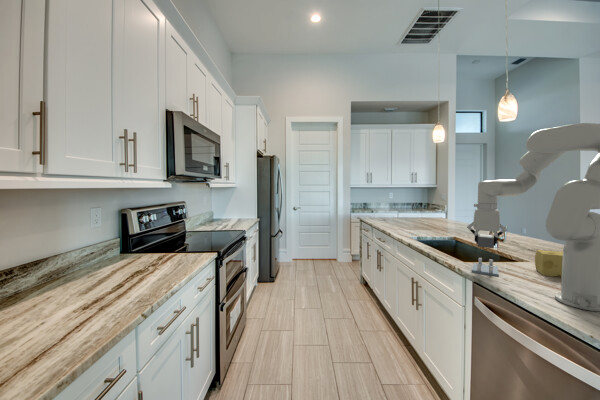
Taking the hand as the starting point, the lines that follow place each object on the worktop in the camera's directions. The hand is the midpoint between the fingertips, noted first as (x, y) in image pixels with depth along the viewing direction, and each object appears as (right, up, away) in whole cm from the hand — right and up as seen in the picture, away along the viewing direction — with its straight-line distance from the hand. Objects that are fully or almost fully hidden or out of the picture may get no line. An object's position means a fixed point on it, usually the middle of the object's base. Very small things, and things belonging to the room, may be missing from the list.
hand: (485, 243), depth 123 cm
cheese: (+27, -13, -5) cm, 31 cm away
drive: (0, -1, 0) cm, 1 cm away
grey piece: (0, -13, 0) cm, 13 cm away
